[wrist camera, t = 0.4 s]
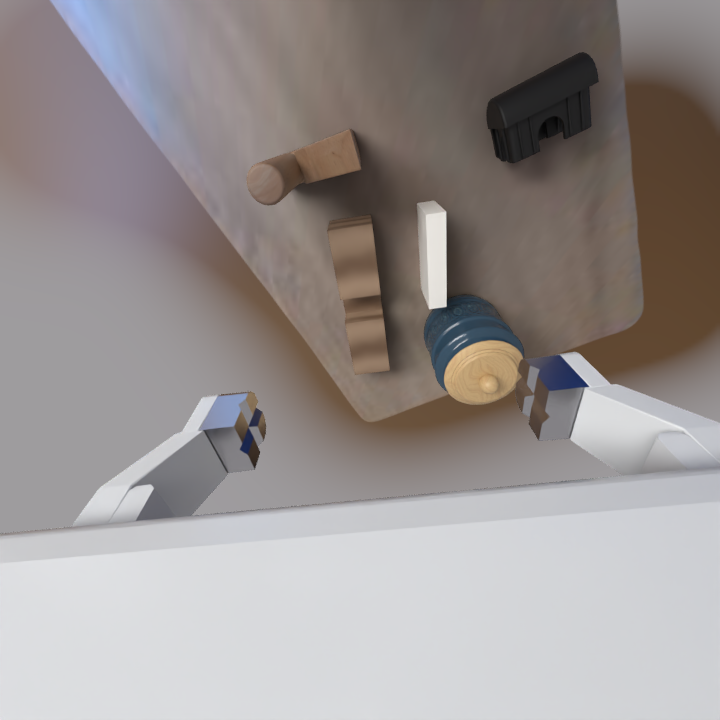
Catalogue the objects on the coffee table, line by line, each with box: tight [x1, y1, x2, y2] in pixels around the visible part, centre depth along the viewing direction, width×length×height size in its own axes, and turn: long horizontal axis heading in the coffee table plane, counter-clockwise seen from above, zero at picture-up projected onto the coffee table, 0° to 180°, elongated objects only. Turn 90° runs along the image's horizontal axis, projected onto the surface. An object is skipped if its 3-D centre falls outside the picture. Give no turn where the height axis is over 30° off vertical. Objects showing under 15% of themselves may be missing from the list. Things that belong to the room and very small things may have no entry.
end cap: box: [487, 52, 599, 163], centre depth 40 cm, size 10×7×7 cm
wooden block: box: [247, 129, 362, 205], centre depth 38 cm, size 4×11×18 cm, turn 108°
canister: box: [424, 295, 524, 405], centre depth 53 cm, size 13×13×18 cm
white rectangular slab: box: [417, 201, 447, 309], centre depth 49 cm, size 13×2×8 cm, turn 8°
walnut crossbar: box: [327, 214, 390, 375], centre depth 54 cm, size 24×6×6 cm, turn 8°
